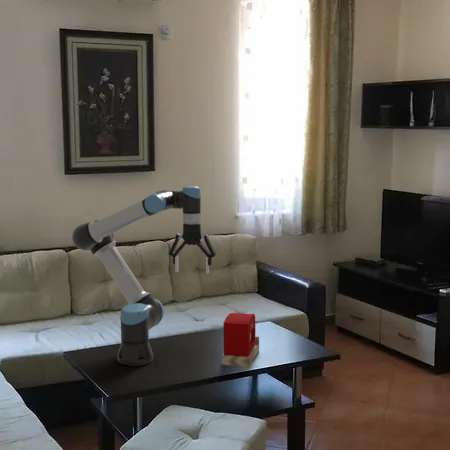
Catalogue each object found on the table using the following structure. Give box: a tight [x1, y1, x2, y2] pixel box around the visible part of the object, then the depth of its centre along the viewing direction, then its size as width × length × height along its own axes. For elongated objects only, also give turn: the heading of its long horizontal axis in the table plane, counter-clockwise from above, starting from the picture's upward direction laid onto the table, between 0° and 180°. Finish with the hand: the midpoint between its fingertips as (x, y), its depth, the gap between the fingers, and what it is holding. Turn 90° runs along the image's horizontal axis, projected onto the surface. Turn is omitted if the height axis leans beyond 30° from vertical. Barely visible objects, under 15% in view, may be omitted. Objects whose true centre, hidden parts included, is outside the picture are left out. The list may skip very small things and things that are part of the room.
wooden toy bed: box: [221, 335, 260, 368], centre depth 295 cm, size 12×20×7 cm, turn 166°
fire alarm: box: [223, 312, 256, 357], centre depth 292 cm, size 16×11×15 cm
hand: (192, 272), depth 294 cm, fingers open, 13 cm apart
